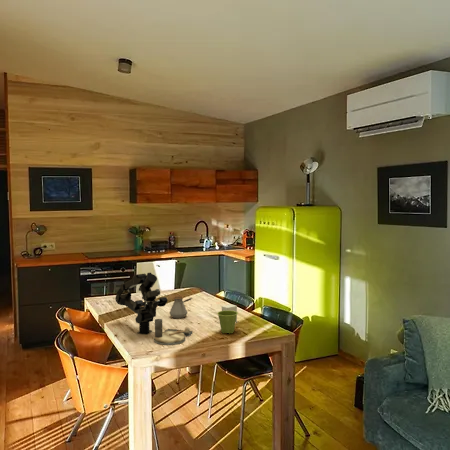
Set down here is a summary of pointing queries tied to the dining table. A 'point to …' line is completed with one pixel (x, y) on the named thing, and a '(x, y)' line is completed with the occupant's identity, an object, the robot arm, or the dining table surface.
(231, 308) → the small box
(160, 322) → the disc
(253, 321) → the dining table surface
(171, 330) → the base
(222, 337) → the dining table surface
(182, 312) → the coffee pot
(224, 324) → the plant pot
